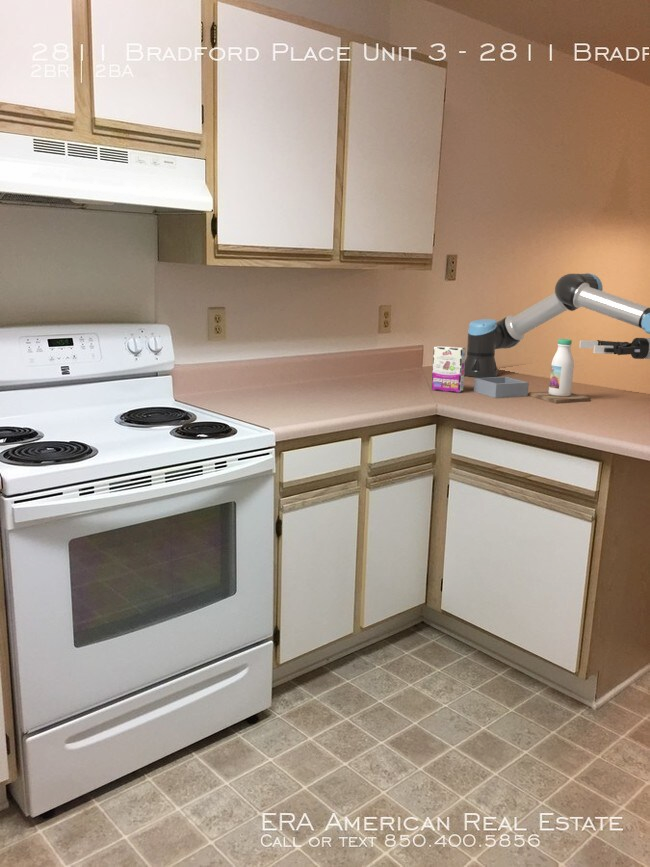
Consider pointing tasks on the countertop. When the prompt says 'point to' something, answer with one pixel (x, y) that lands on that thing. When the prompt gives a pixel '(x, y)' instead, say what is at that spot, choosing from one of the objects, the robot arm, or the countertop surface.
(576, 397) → the walnut board
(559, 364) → the milk bottle
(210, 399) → the countertop surface
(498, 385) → the box
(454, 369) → the candy bar box
